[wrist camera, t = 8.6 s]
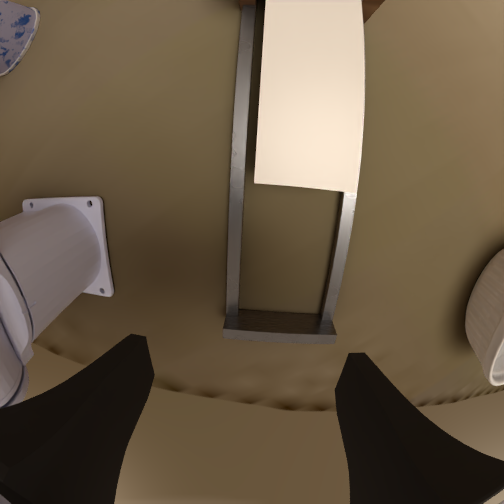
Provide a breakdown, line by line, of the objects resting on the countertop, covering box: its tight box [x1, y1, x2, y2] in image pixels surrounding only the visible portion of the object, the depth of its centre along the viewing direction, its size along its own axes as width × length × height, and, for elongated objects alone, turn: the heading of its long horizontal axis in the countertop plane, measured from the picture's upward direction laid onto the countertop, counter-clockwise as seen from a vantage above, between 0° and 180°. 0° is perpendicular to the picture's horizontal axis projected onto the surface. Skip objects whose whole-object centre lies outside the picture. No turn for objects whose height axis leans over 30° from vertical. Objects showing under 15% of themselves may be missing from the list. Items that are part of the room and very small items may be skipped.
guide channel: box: [223, 5, 365, 344], centre depth 15 cm, size 8×22×2 cm, turn 177°
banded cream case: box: [254, 0, 365, 193], centre depth 11 cm, size 5×14×5 cm, turn 177°
